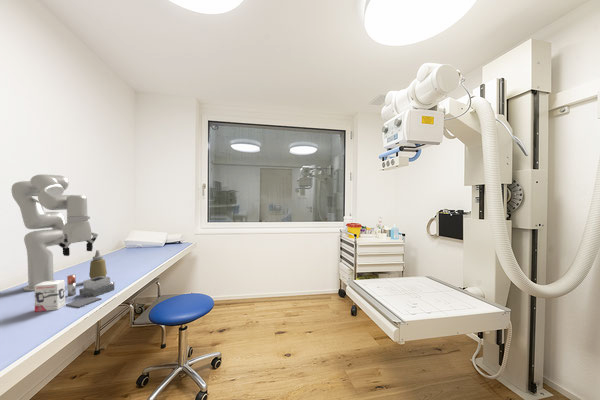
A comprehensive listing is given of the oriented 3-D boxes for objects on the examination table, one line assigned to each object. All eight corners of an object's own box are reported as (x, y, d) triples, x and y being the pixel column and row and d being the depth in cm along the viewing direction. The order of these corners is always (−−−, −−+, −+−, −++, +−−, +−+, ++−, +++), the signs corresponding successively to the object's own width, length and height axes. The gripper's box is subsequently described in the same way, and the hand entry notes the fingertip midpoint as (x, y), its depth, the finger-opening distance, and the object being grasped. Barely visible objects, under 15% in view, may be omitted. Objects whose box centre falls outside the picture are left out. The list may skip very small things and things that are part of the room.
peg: (66, 296, 118) (65, 276, 118) (73, 293, 121) (72, 274, 121) (70, 296, 117) (69, 276, 117) (77, 294, 120) (76, 274, 120)
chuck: (79, 295, 119) (79, 281, 119) (106, 285, 131) (106, 273, 131) (93, 297, 116) (92, 283, 116) (119, 287, 128) (119, 274, 128)
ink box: (34, 312, 102) (33, 285, 101) (43, 307, 106) (42, 281, 106) (57, 309, 103) (56, 283, 103) (66, 304, 108) (65, 279, 108)
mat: (66, 305, 108) (65, 304, 108) (88, 297, 116) (88, 296, 116) (79, 308, 105) (79, 306, 105) (101, 299, 114) (101, 298, 114)
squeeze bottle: (109, 279, 142) (108, 249, 141) (92, 283, 135) (91, 252, 135) (104, 276, 146) (103, 248, 146) (87, 281, 139) (86, 251, 139)
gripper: (91, 217, 127) (92, 249, 128) (50, 221, 111) (51, 257, 111) (101, 218, 125) (102, 249, 126) (60, 221, 109) (61, 258, 109)
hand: (78, 253), depth 118 cm, fingers open, 9 cm apart
